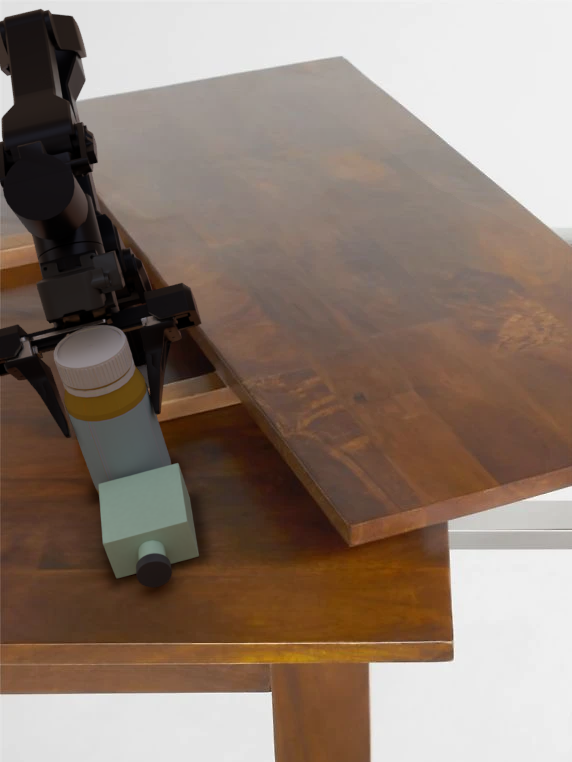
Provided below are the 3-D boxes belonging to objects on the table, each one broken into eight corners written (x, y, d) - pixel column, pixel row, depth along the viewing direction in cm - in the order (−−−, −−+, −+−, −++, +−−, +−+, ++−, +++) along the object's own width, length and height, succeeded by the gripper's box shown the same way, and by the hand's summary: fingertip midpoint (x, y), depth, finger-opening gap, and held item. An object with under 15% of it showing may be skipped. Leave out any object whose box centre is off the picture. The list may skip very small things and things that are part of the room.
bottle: (159, 509, 120) (113, 371, 111) (85, 507, 122) (34, 371, 113) (184, 457, 126) (142, 321, 117) (113, 455, 127) (66, 322, 118)
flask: (111, 518, 120) (98, 483, 118) (189, 497, 121) (178, 462, 119) (118, 603, 112) (104, 568, 109) (203, 580, 112) (190, 544, 110)
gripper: (-62, 255, 112) (-19, 440, 110) (164, 199, 113) (211, 380, 111) (-26, 289, 123) (13, 458, 120) (179, 238, 124) (222, 403, 122)
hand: (113, 425), depth 118 cm, fingers open, 7 cm apart
